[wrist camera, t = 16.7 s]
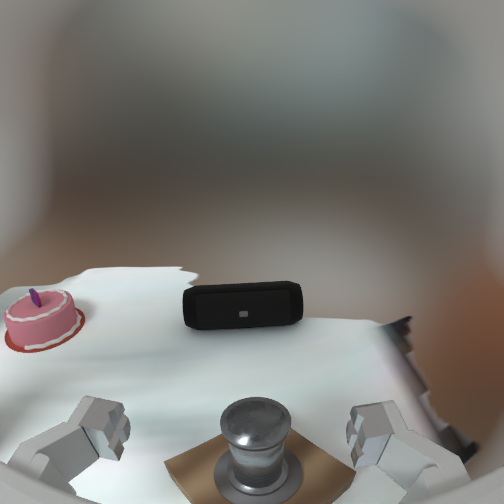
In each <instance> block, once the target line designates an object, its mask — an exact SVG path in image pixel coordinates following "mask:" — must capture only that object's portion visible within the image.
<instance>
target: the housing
mask: <svg viewBox="0 0 504 504" xmlns="http://www.w3.org/2000/svg"><path fill="white" fill-rule="evenodd" d="M220 425H221V431H222V434H223V436H224V438H225V439H226V440H227V442H229V448H230V455H231V460H230V461H229V463H228V466H227V476H228V480H229V482H230V484H231V485H232V486H233V487H234V488H235V489H236V490H237V491H239V492H241V493H243V494H245V495H249V496H265V495H269V494H272V493H274V492H276V491H277V490H279V489H280V488H281V487H282V486H283V485H284V484H285V482H286V480H287V477H288V464H287V462H286V460H285V459H284V457H283V452H284V440H285V439H286V438H287V436H288V435H289V432H290V428H291V417H290V414H289V412H288V410H287V409H286V408H285V407H284V406H283V405H282V404H280V403H279V402H277V401H275V400H272V399H269V398H263V397H250V398H245V399H241V400H238V401H236V402H234V403H232V404H231V405H229V406H228V407H227V408H226V409H225V410H224V412H223V414H222V416H221V420H220Z"/></svg>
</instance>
